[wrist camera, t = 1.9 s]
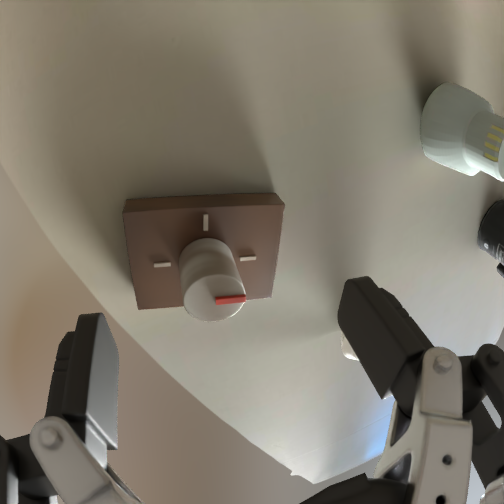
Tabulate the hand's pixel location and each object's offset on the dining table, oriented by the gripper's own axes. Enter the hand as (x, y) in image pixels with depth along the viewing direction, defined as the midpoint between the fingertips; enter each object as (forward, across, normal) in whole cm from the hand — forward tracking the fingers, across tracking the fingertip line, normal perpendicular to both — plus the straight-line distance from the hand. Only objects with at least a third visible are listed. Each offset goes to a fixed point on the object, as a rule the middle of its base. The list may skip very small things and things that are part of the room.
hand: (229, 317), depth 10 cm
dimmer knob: (+15, 0, +8) cm, 17 cm away
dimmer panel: (+18, 0, +8) cm, 19 cm away
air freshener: (+18, -26, -4) cm, 32 cm away
